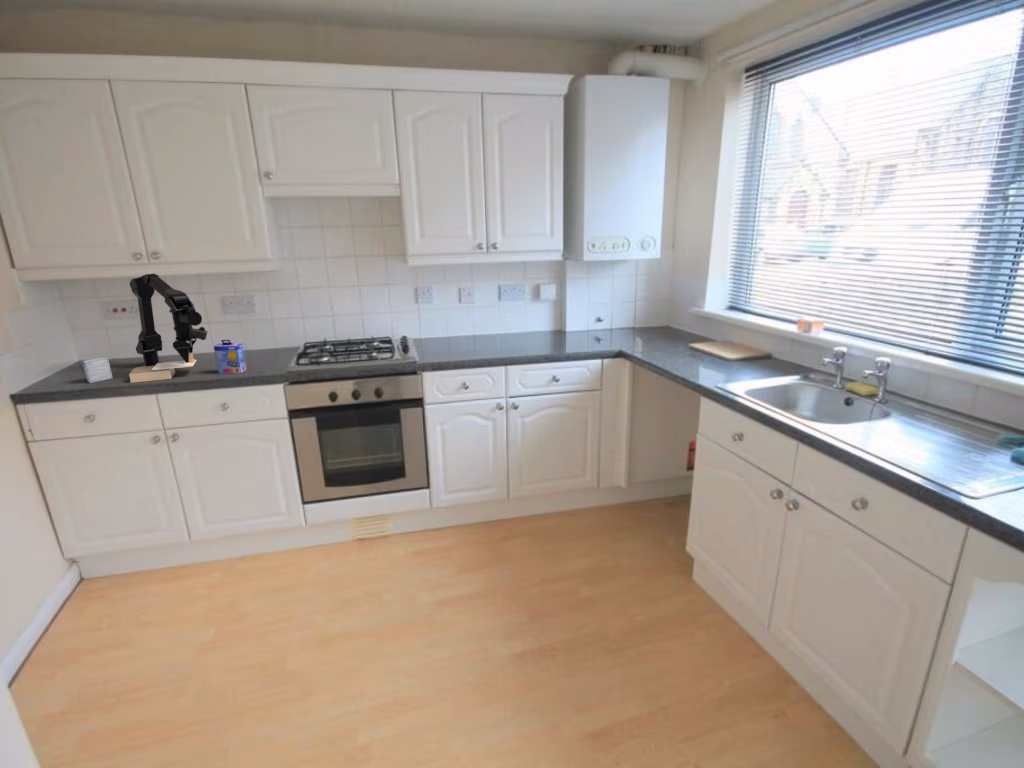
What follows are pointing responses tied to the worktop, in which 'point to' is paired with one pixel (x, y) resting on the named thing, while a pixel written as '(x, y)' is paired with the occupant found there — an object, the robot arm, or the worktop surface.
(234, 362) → the ink cartridge box
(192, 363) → the lid
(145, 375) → the carton
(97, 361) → the medicine box
